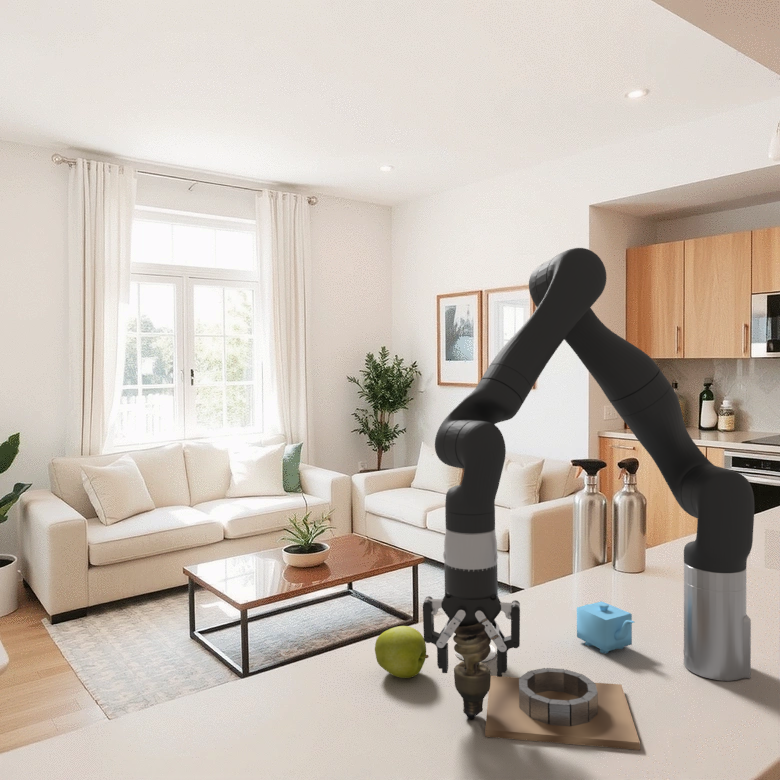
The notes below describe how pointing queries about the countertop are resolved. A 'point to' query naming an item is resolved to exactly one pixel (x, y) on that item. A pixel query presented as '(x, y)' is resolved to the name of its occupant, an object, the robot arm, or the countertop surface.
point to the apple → (401, 651)
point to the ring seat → (558, 709)
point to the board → (602, 730)
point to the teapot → (604, 626)
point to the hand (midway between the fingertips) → (472, 672)
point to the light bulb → (472, 667)
